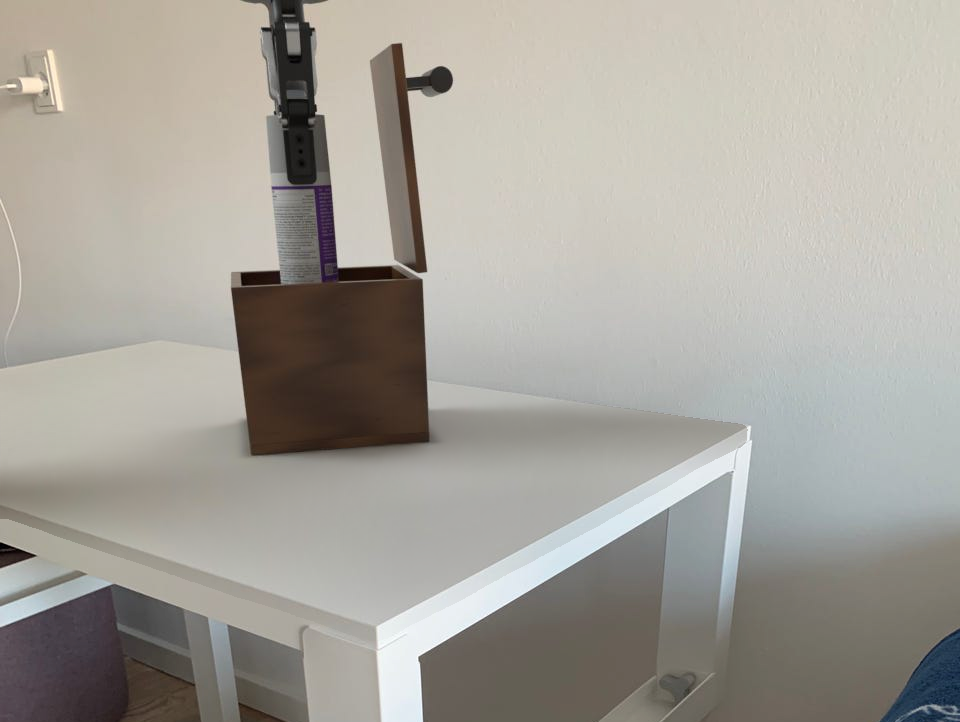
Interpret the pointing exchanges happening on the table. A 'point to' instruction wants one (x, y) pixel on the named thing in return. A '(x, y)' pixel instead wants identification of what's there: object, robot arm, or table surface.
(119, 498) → the table surface
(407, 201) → the lid
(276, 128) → the container
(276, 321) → the chest
